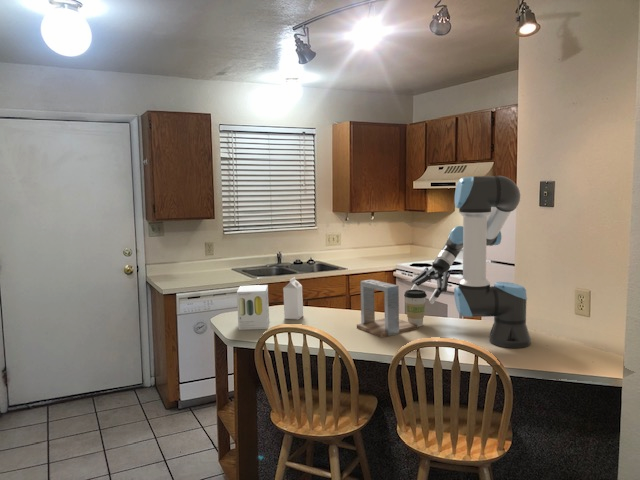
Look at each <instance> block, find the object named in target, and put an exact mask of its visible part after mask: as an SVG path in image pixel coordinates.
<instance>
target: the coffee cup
mask: <svg viewBox="0 0 640 480" xmlns="http://www.w3.org/2000/svg"><path fill="white" fill-rule="evenodd" d="M403 294H404V298H405V307H406V309H405V310H406V317H407V322H409V323H412V324H416V325H417V328H418V327H423V325H424V324H423V323H424V317H425V312H426V311H425V310H426V298H427V296H428V295H427V293H426V290H423V289H417V290H410V289H407V290H405V293H403Z"/></svg>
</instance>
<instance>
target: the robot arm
mask: <svg viewBox="0 0 640 480" xmlns="http://www.w3.org/2000/svg"><path fill="white" fill-rule="evenodd" d="M520 191H521V190H520V188H519V187H518V185H517V184H516V182H515V181H513V180H512V179H510V178H509V177H507V176H503V175H482V176H481V175H480V176H479V175H478V176H473V175H472V176H463V177H461V178H460V179H458V182H457V184H456V187H455V191H454V206H455V208H456V209H459V210H458V213H459V214H460V215H461V216H462V217H463V219H462V221H463V222H462V223H463V225H456V226H455V227H454V228H453V229H451V231H450V232H449V236H448V238H447V240H446V243H445V244H444V245H443V247H442V248H441V250H440V251H439V253H438V254H437V256H436V258H435V259H434V261H433V262H432V264H431V268H428V267H427V266H426V267H425V268H424V269H423V270H422V271H421V272H420V273H419V274H417V276H415V277H414V278H413V279H412V280H411V283H412V285H411V287H410V288H409V290H419V286H421V285H423V284H424V283H426V282H427V281H430V280H435V281H436V284H437V288H435V289H434V291H433V293H432V294H431V295H430V297H429V299H428V302H429V303H430V304H431V305H434V303H435V302H436V300H437V299H438V298H439V297H440V295H441V294H442V293H443V292H444V293H446V292H447V290H448V285H449V278H450V277H451V274H450V273H449V270H450V268H451V267H452V265H453V264H454V262H455V260H456V259H457V257H458V256H459V254H460V253H461V251H462V278H461V279H460V280H459V281H458V286H455V287H454V289H453V294H454V302H455V307H456V311H457V313H458V314H459V315H460V316H461V317H465V318H467V317H469V318H474V317H476V318H477V317H481V318H483V317H487V318H488V317H493V324H492V327H491V329H490V332H489V336H488V337H489V339H488V342H489V343H491V344H492V345H495V346H498V347H502V348H506V349H507V348H509V349H521V348H527V347H528V346H531V343H532V342H531V336H530V334H529V330H528V326H527V300H528V298H527V289H526V287H524V286H523V285H522V284H519V283H513V282H509V281H495V282H494V284H493V286H491V282H490V281H489V280H488V279H487V246H489V247H491V246H498V245H500V244H501V243H502V231H501V230H502V228H503V227H504V225H505V223H506V221H507V219H508V218H509V216H510V214H511V212H513V211H515V210H516V209H517V208H518V206H519V204H520V202H521V192H520Z"/></svg>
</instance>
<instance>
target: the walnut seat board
mask: <svg viewBox="0 0 640 480" xmlns="http://www.w3.org/2000/svg"><path fill="white" fill-rule="evenodd" d="M356 329H359V330H360V331H364V332H367V333H370V334H371V335H375V336H377V337H380V338H384V337H388V336H387V332H385V317H384V318H381V319H380V318H379V319H376V320H375V322H371V323H367V324H361V323H359V324H356ZM416 329H418V327H417V325H416V324H412V323H409V322H408V321H406V320H404V319H403V320H402V319H400V318H399V334H400V333H405V332H408V331H412V330H416Z"/></svg>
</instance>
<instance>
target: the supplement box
mask: <svg viewBox="0 0 640 480" xmlns="http://www.w3.org/2000/svg"><path fill="white" fill-rule="evenodd" d="M236 302H237V305H236V306H237V324H238V325H237V326H238V327H237V328H238V331H242V330H249V331H250V330H267V329H268V328H269V325H270V309H269V308H270V307H269V306H270V305H269V285H268V284H258V285H255V284H254V285H253V284H252V285H240V286H239V287H238V289H237V291H236Z"/></svg>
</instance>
